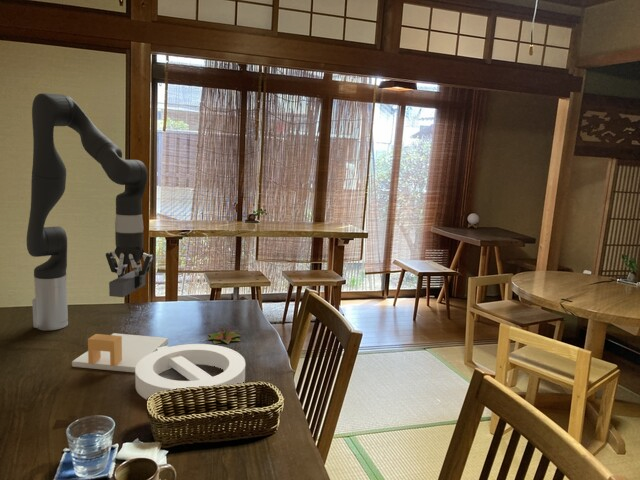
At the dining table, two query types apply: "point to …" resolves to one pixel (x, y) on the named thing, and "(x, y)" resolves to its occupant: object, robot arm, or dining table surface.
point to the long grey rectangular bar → (124, 285)
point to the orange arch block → (105, 348)
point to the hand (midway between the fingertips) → (130, 287)
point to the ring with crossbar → (188, 367)
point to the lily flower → (224, 334)
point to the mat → (124, 353)
